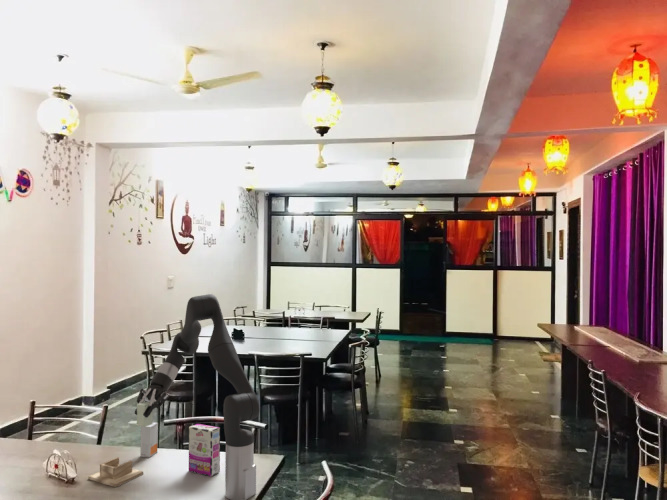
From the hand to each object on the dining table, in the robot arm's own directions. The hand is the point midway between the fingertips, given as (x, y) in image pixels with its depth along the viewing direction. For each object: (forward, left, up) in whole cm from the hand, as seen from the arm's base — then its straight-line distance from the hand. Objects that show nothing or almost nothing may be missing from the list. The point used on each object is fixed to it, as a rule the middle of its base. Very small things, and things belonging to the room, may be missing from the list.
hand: (140, 415), depth 198 cm
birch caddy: (0, +11, -19) cm, 22 cm away
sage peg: (0, -2, -4) cm, 5 cm away
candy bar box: (-25, -7, -19) cm, 32 cm away
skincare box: (+6, -10, -19) cm, 22 cm away
